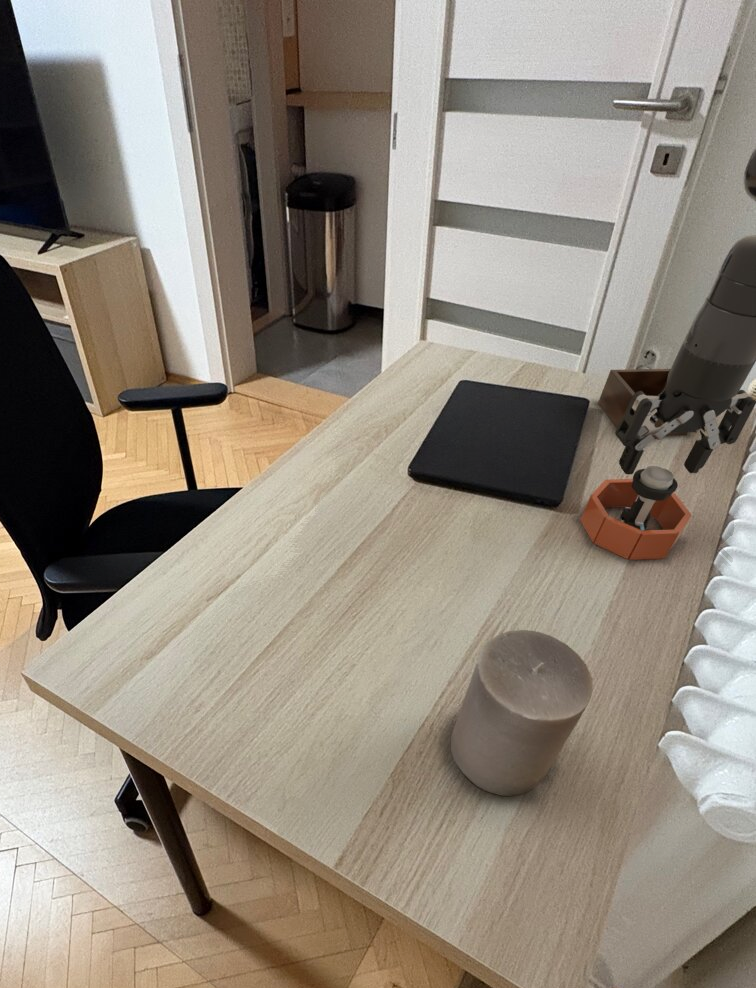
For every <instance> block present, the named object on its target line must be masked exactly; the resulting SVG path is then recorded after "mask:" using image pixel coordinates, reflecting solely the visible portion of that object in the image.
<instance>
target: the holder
mask: <svg viewBox="0 0 756 988" xmlns="http://www.w3.org/2000/svg"><path fill="white" fill-rule="evenodd" d="M670 369H671V368H641V369H640V368H638V369H634V368H633V369H610V371H609V373H608V376H607V379H606V381H605V384H604V385H603V388H602V391H601V394H600V397H599V399H598V402H597V404H598V405H599V407H600V408H601V409H602V410H603V412H604V413H605V415H606V416H607V417H608V419H609V420H610V421H611V423H613V425H614V426H615V428H616V429H617V428H618V426H619V424H620V422H621V420H622V418H623V416H624V413H625V411H626V409H627V407H628V405H629V403H630V401H631V399H632V397H633V395H634V394H635V393H636V392H638V391H642V392H643V393H644V394H645V395H646V396H658V395H659V394H660V393H661V392H662V391H663V390H664V389H665V387H666V384H667V378H668V374H669V372H670ZM655 409H656V408H654V409H653V410H652V411H651V412H653V411H654V410H655ZM655 426H656V428H658V427H660V426H662V424H661V422H660V419H659V420H657V421H656V423H655ZM648 432H649V431H648ZM648 432H646V433H645V434H644V435H642V436H641V437H643V436H645V435H646V434H647V433H648ZM688 433H689V432H686V431H682V432H678V433H671V432H669V433H668V434H667V435H666V436H686V435H688Z"/></svg>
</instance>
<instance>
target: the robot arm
mask: <svg viewBox="0 0 756 988" xmlns="http://www.w3.org/2000/svg"><path fill="white" fill-rule="evenodd" d="M742 178H743V179H742V183H743V187H744V188H743V189H744V192H745V193H746V195H747V196H748V197H749V198H750V199H751V200H753V201H754V202H756V146H755V147H754V148H753V151H752V152H751V154H750V156H749V158H748V160H747V162H746V165H745V167H744V172H743V177H742ZM755 364H756V234H752V235H746V236H743V237H741V238H739V239H737V241H735V242H734V243H733V245H731V247H730V248H729V250H728V251H727V253H726V255H725V258H724V259H723V261H722V264H721V265H720V268H719V270H718V272H717V274H716V275H715V278H714V281H713V283H712V285H711V287H710V289H709V291H708V294H707V296H706V298H705V299H704V301H703V303H702V305H701V306H700V308H699V310H698V311H697V313H696V315H695V316H694V319H693V320H692V322H691V325H690V327H689V329H688V331H687V333H686V335H685V337H684V339H683V341H682V343H681V346H680V348H679V350H678V352H677V355H676V357H675V359H674V361H673V363H672V365H671V368H669V369H670V372H669V374H668V378H667V384H666V387H665V389H664V390H663V391H662V392H661V393H660V394H659V395H658V396H646V395H645V394H644V393H643V392H642V391H638V392H636V393H635V394H634V395H633V397H632V399H631V401H630V403H629V405H628V407H627V409H626V411H625V413H624V416H623V418H622V420H621V422H620V424H619V426H618V428H617V427H616V430H615V432H614V434H615V436H616V438H618V440H619V441H620V442H621V444H622V445H623V446H624V449H623V451H622V453H621V455H620V457H619V460H618V465H619V466H620V469H621V470H622V471H623V473H624V474H625V475H634V473H635V472H636V468H637V466H638V465H639V462H640V460H641V459H642V456H643V454H644V451H645V450H644V449H646V447H648V446H649V445H650V444H652V443H653V442H654V441H656V440H659V441H660V440H661V439H663V438H665V437H667V436H668V435H667V434H668V433H669V432H671V433H678V432H682V431H686V432H688V433H697V431H698V434H699V438H700V439H695V442H694V445H693V446H692V447H691V449H690V452H689V453H688V455H687V456H686V459H685V461H684V464H683V466H684V468H685V469H686V470H687V472H688V473H689V474H698V473H699V471H700V470H701V469H702V468H704V467H705V466H706V464H707V462H708V460H709V458H710V456H711V455H712V453H713V452H714V450H715V449H717V448H719V447H720V445H723V444H726V445H733V444H735V443H736V441H737V440H738V438H739V436H740V434H741V433H742V430H743V429H744V427H745V425H746V423H747V421H748V419H749V417H750V416H751V414H752V412H753V410H754V408H755V406H756V400H755V399H754V398H753V397H752V395H750V394H749V393H748V392H746V390H744V389H741V388H742V387H743V385H744V383H745V382H746V380H747V378H748V376H749V375H750V373H751V371H752V369H753V367H754V365H755ZM654 408H656V409H655V410H654V411H653V412H651V411H652V410H653V409H654ZM723 413H724V414H723ZM721 414H723V416H722V419H721V421H720V422H719V424H718V422H717V418H718V417H719V416H720V415H721ZM659 419H660V422H661V424H662V426H660V427H658V428H656V426H655V423H656V421H657V420H659ZM648 431H649V432H648ZM646 432H648V433H647V434H646V435H645V436H642V435H644V434H645V433H646Z"/></svg>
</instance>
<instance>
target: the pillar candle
mask: <svg viewBox="0 0 756 988" xmlns="http://www.w3.org/2000/svg"><path fill="white" fill-rule="evenodd" d="M593 683H594V682H593V677H592V674H591V672H590V670H589V668H588V665H587V663H586V662H585V660H583V659H582V657H581V656H580V655H579V654H578V653H577V652H576V651H575V650H574V649H573V648H571V647H570V646H569V645H568V644H566V643H565V642H563V641H561V640H559V639H558V638H556V637H554V636H552V635H550V634H547V633H544V632H540V631H536V630H532V629H531V630H528V629H515V630H507V631H505V632H502V633H499V634H498V635H496V636H494V637H492V638H491V639H489V640H488V641H487V642H486V643H485V645H483V647H482V648H480V650H479V651H478V656H477V658H476V664H475V667H474V670H473V673H472V676H471V678H470V681H469V683H468V687H467V690H466V692H465V695H464V698H463V700H462V703H461V707H460V710H459V711H458V715H457V718H456V720H455V724H454V726H453V729H452V732H451V736H450V751H451V756H452V759H453V761H454V763H455V765H456V766H457V767H458V768H459V770H460V771H461V773H462V774H463V775H464V776H465V777H466V778H467V779H468V780H469V781H470V782H471V783H472V784H474V785H475V787H478V788H480V789H481V790H484V791H485V792H488V793H491V794H495V795H499V796H506V797H511V796H519V795H522V794H525V793H527V792H529V791H533V790H534V789H536V788H537V787H538V786H539V785H540V784H542V782H543V780H544V779H545V777H546V775H547V774H548V773H549V770H550V769H551V767H552V766H553V764H554V763H555V761H556V759H557V757H558V756H559V754H560V753H561V751H562V750H563V748H564V746H565V744H566V742H567V741H568V739H569V738H570V736H571V734H572V732H573V730H574V729H575V727H576V726H577V724H578V722H579V720H580V719H581V718H582V715H583V713H584V712H585V710H586V708H587V707H588V705H589V703H590V701H591V700H592V699H591V698H592V695H593V691H594V690H593V689H594V684H593Z"/></svg>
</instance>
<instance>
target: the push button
mask: <svg viewBox="0 0 756 988" xmlns="http://www.w3.org/2000/svg"><path fill="white" fill-rule="evenodd" d="M632 475H633V476H632V479H633V481H632V485H631V487H632V488H633V490H634V491H635V492H636V494H638V497H637V499H636V501H635V502H634V503H633V505H632V507H631V508H629V507H623V509H622V511H621V513H620V516H619V518H620V521H621V522H623V523H626V524H628V525H630V526H632V527H635V528H637V529H639V530H641V531H643V530H646V529H647V527H648V523H649V521H650V519H651V518H652V517H651V514H650V511H651V508H652V506H653V504H654V502H655V501H663V500H665V499H667V498H668V497H670V496H671V494H672V493H673V492H674V493H675V492H676V490H677V489H678V487H679V485H678V482H677V480H676V479H675V478H674V477H675V476H674V474H673V473H672V472H671V471H670V470H668V469H667V468H664V467H662V466H658V465H649V466H647V467H645V468H640V469H637V470H635V471H634V473H633V474H632Z"/></svg>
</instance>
